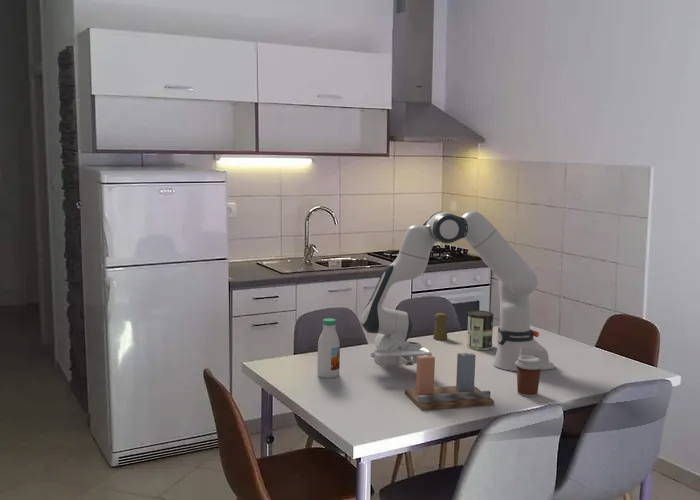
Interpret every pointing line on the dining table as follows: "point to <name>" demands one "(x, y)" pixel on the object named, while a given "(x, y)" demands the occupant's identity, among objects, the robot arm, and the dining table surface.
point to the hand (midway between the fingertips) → (409, 363)
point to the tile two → (465, 372)
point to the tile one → (425, 374)
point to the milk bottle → (328, 350)
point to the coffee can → (480, 330)
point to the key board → (450, 398)
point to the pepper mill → (440, 327)
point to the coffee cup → (528, 375)
